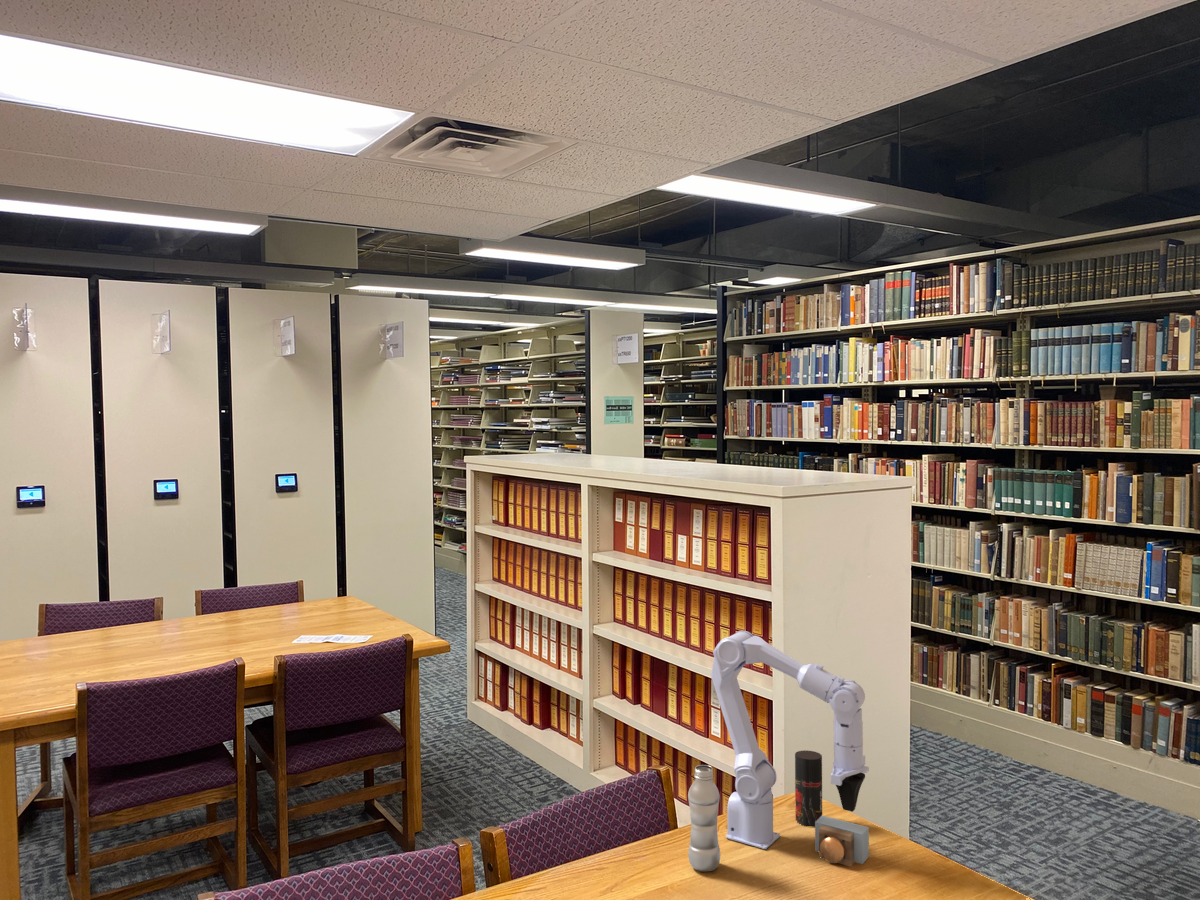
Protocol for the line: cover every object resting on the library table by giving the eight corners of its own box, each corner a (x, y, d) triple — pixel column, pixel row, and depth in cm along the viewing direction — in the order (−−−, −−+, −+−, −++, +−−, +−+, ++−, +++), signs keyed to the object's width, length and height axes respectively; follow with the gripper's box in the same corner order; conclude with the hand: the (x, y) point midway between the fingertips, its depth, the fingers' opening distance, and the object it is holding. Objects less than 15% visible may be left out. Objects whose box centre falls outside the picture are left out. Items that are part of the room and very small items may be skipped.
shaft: (843, 866, 166) (842, 842, 166) (820, 859, 168) (819, 835, 169) (860, 845, 175) (860, 822, 175) (838, 839, 177) (838, 816, 177)
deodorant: (823, 827, 184) (822, 760, 184) (795, 825, 185) (795, 758, 186) (821, 816, 190) (821, 751, 190) (795, 814, 191) (794, 749, 191)
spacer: (819, 857, 170) (818, 828, 171) (822, 853, 172) (822, 824, 172) (850, 866, 167) (850, 836, 167) (853, 862, 168) (853, 833, 168)
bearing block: (815, 850, 173) (815, 822, 173) (822, 843, 177) (821, 815, 177) (862, 864, 167) (862, 834, 168) (868, 856, 171) (868, 827, 171)
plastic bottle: (724, 863, 168) (724, 764, 168) (714, 878, 162) (714, 776, 162) (694, 857, 171) (693, 760, 171) (683, 872, 164) (683, 771, 165)
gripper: (855, 756, 161) (855, 827, 161) (879, 737, 173) (880, 802, 172) (820, 749, 165) (821, 817, 165) (846, 730, 177) (847, 794, 177)
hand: (848, 809), depth 169 cm, fingers closed
